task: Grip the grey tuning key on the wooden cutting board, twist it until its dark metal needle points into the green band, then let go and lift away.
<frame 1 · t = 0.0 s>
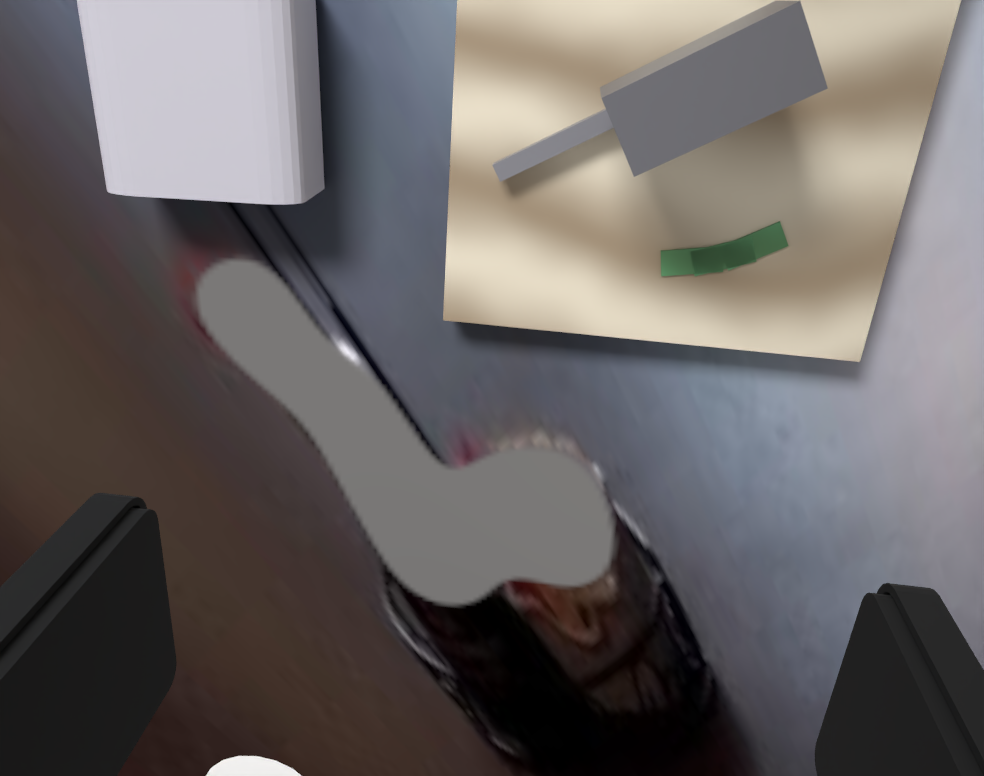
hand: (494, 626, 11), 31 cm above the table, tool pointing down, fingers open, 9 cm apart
tuning key: (633, 116, 32), point 6 cm above the table, hinge at -60.0°
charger: (225, 15, 38), on the table
wooden cutting board: (685, 72, 37), on the table
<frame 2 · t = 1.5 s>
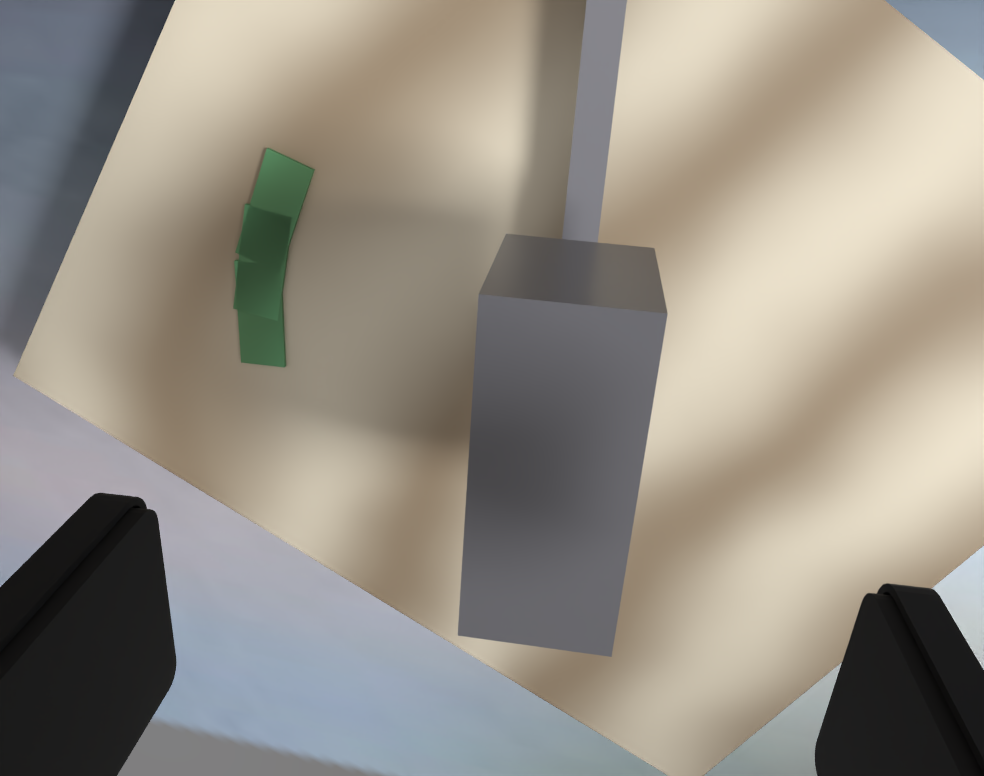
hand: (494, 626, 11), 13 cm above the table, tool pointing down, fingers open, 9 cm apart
tuning key: (574, 285, 17), point 6 cm above the table, hinge at -60.0°
wooden cutting board: (571, 320, 23), on the table
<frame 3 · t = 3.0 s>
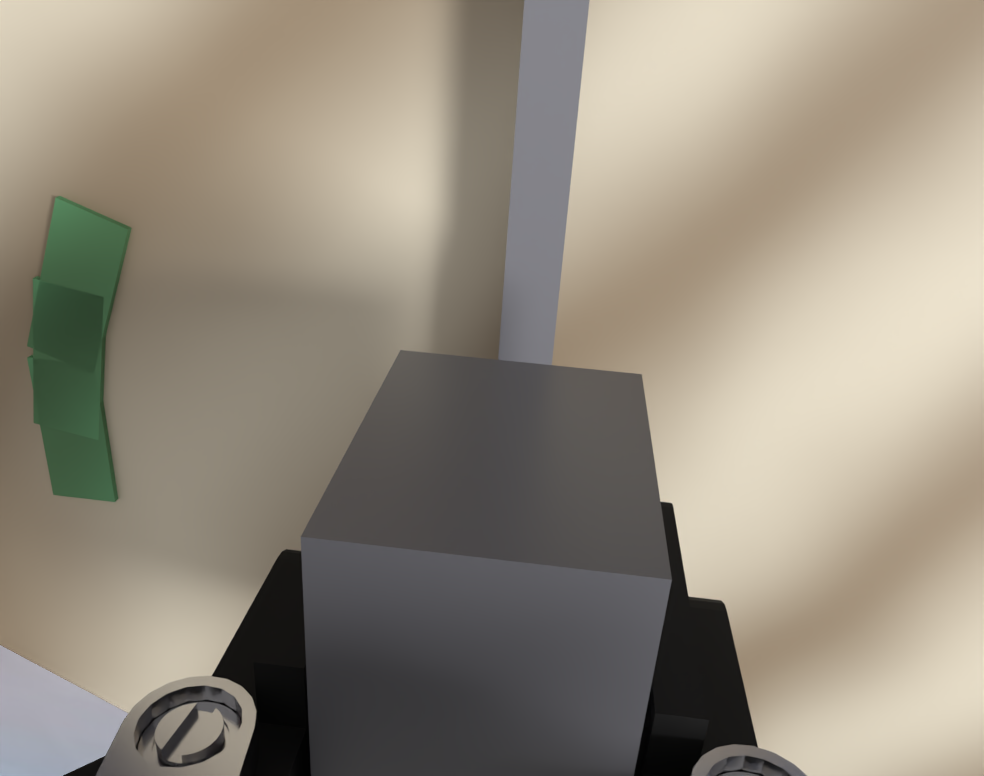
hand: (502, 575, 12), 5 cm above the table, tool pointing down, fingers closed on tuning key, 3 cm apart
tuning key: (511, 438, 10), point 6 cm above the table, hinge at -60.0°, touching gripper
wooden cutting board: (524, 425, 16), on the table
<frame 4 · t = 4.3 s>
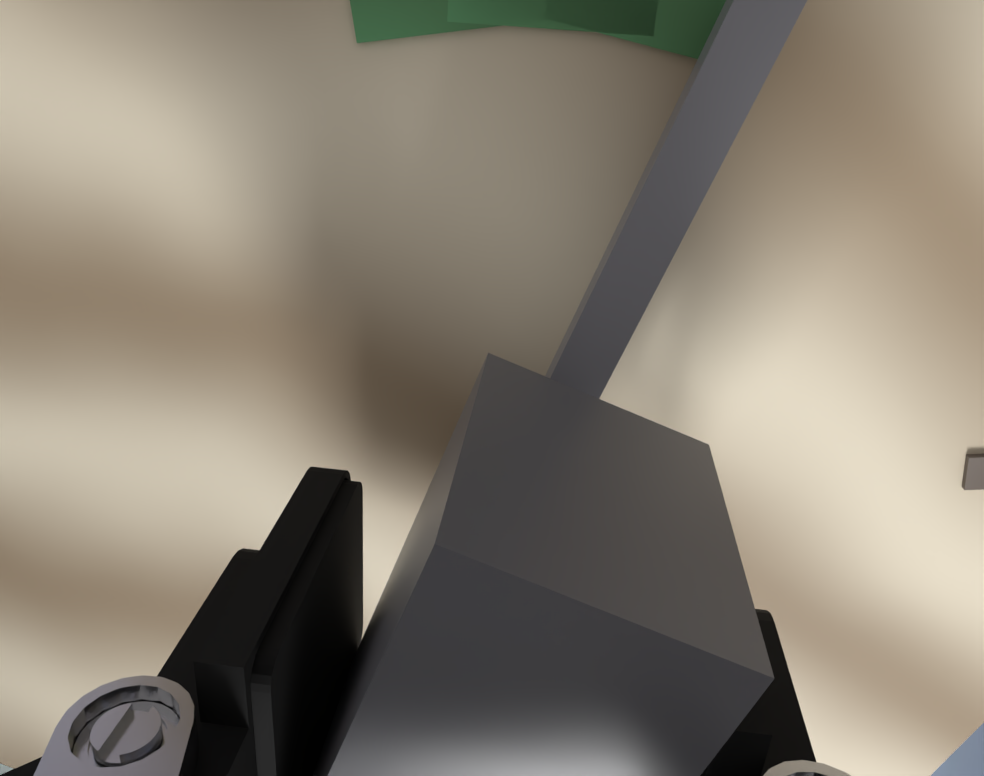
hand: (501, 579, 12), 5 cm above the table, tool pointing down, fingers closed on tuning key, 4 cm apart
tuning key: (574, 470, 10), point 6 cm above the table, hinge at 1.5°, touching gripper
wooden cutting board: (519, 435, 16), on the table
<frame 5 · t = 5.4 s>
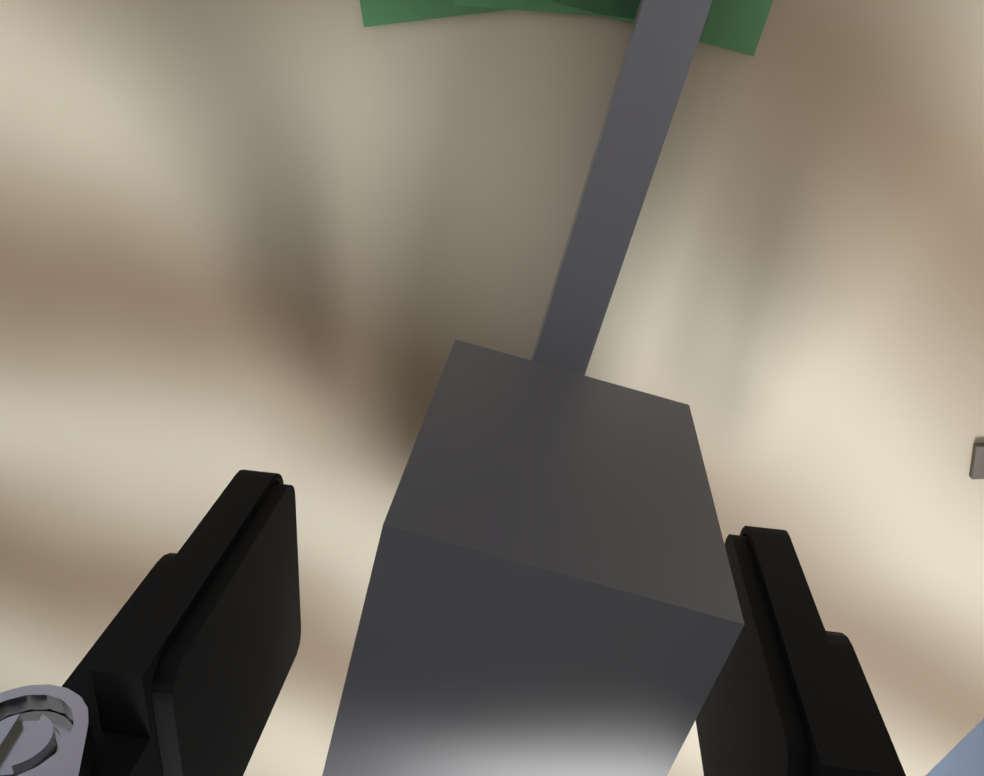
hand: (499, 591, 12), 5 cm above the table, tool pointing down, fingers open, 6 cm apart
tuning key: (553, 446, 10), point 6 cm above the table, hinge at 9.2°
wooden cutting board: (524, 425, 16), on the table
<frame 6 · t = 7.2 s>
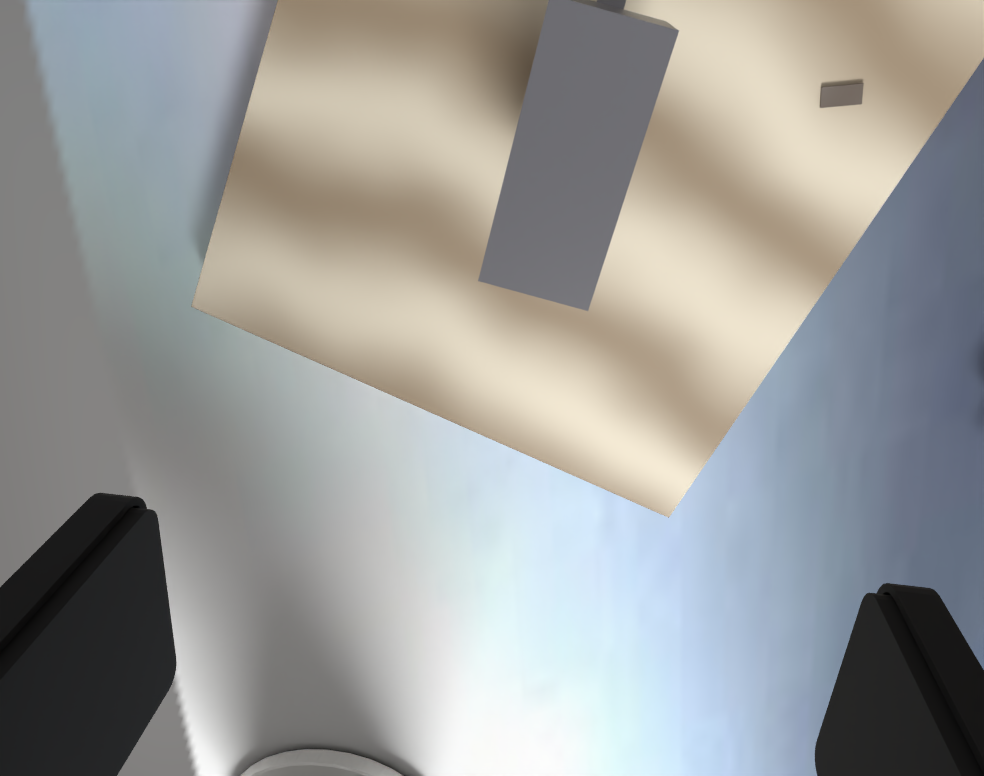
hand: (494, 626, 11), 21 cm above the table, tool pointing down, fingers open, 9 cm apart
tuning key: (603, 37, 22), point 6 cm above the table, hinge at 10.0°
wooden cutting board: (578, 110, 28), on the table
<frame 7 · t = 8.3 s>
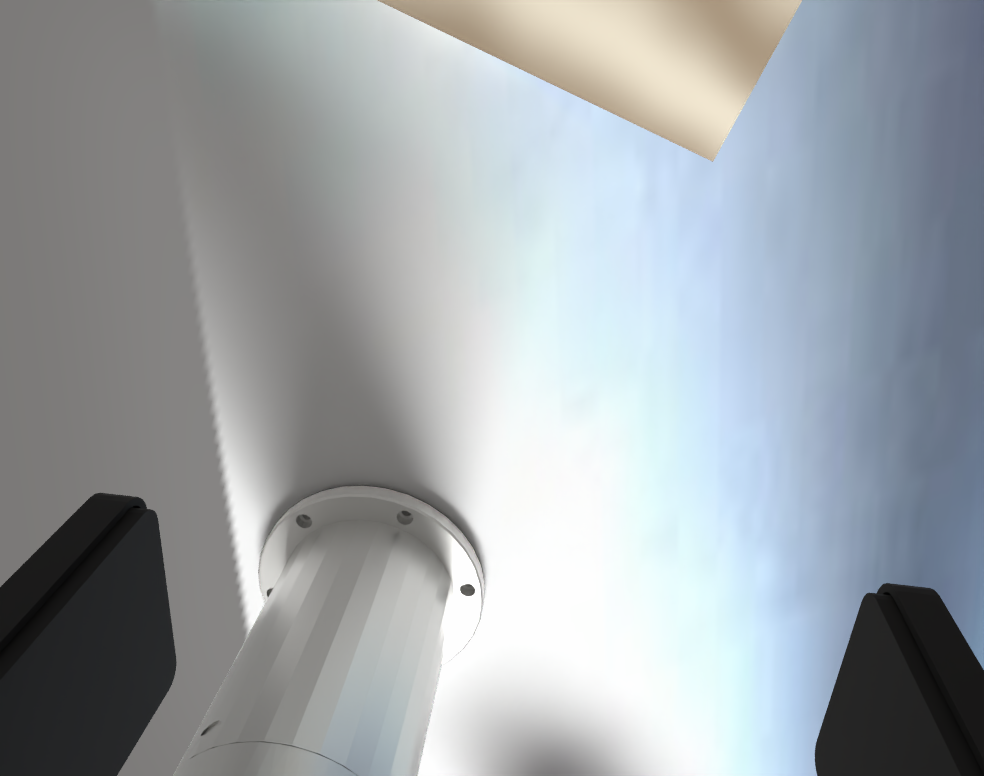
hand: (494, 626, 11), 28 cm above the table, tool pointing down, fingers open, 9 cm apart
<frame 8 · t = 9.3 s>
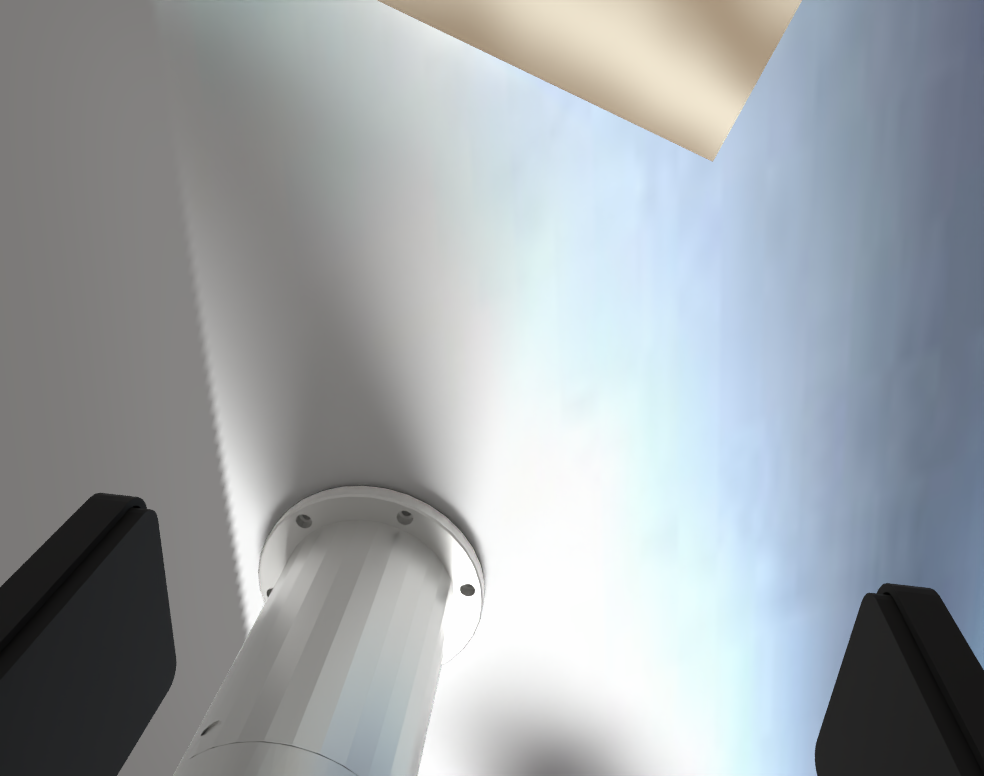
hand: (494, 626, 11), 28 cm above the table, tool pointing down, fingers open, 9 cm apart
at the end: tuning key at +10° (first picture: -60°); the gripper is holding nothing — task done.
